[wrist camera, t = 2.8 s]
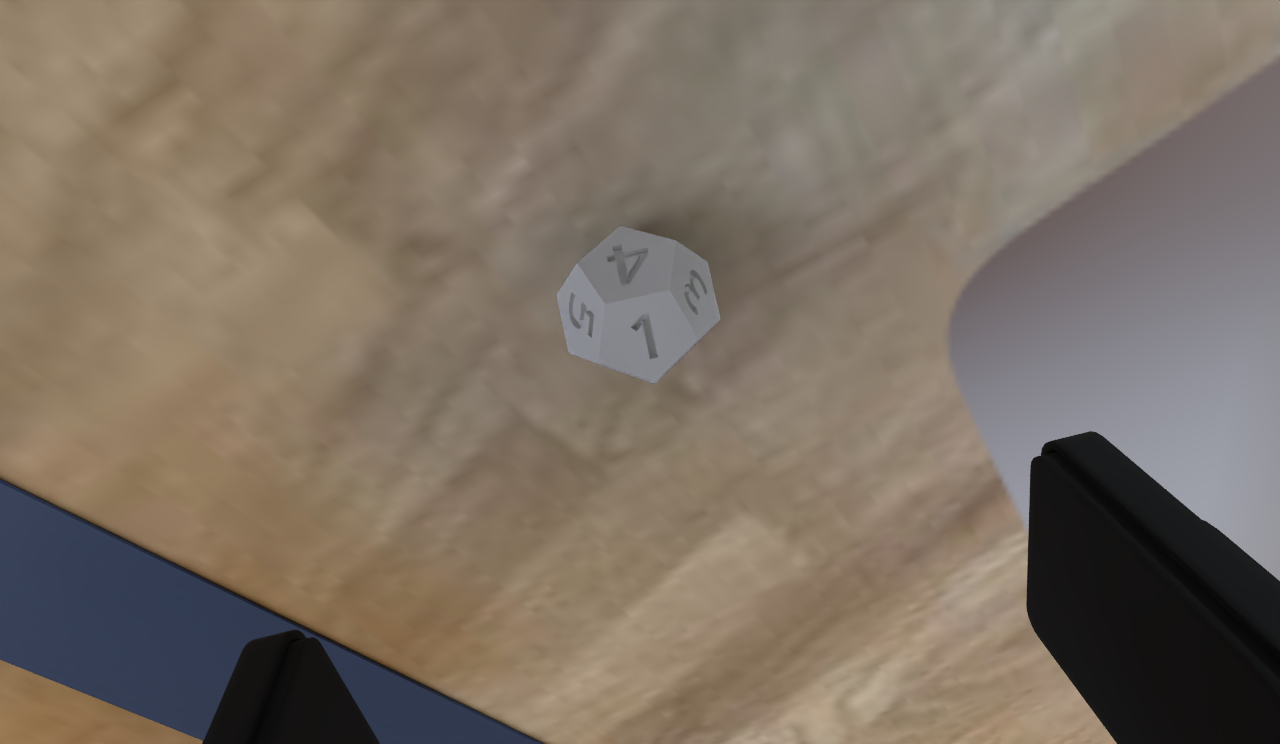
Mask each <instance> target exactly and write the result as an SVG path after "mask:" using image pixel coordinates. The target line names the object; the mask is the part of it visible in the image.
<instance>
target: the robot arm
mask: <svg viewBox="0 0 1280 744" xmlns="http://www.w3.org/2000/svg"><path fill="white" fill-rule="evenodd" d="M1027 612H1028V617H1029V619H1030V622H1031V625H1032V627H1033V629H1034V631H1035V632H1036V634H1037V635H1038V637H1039V638H1040V640H1041V641H1042V642H1043V644H1044V645H1045V646H1046V648H1047V649H1048V651H1049V652H1050V653H1051V655H1052V656H1053V657H1054V659H1055V660H1056V661H1057V663H1058V664H1059V665H1060V667H1061V668H1062V670H1063V671H1064V672H1065V674H1066V675H1067V676H1068V678H1069V679H1070V680H1071V682H1072V683H1073V684H1074V686H1075V687H1076V689H1077V690H1078V691H1079V693H1080V694H1081V695H1082V697H1083V698H1084V699H1085V701H1086V702H1087V703H1088V705H1089V706H1090V707H1091V709H1092V710H1093V712H1094V713H1095V714H1096V716H1097V717H1098V718H1099V720H1100V721H1101V722H1102V724H1103V725H1104V726H1105V728H1106V729H1107V731H1108V732H1109V733H1110V735H1111V736H1112V737H1113V739H1114V740H1115V741H1116V743H1117V744H1280V581H1279V580H1277V579H1276V578H1275V577H1274V576H1273V575H1272V574H1270V573H1269V572H1268V571H1267V570H1266V569H1264V568H1263V567H1262V566H1261V565H1260V564H1258V563H1257V562H1256V561H1255V560H1254V559H1253V558H1251V557H1250V556H1249V555H1248V554H1247V553H1245V552H1244V551H1243V550H1242V549H1241V548H1240V547H1238V546H1237V545H1236V544H1235V543H1233V542H1232V541H1231V540H1230V539H1229V538H1228V537H1226V536H1225V535H1224V534H1223V533H1221V532H1220V531H1219V530H1218V529H1217V528H1215V527H1214V526H1212V525H1210V524H1209V523H1207V522H1206V521H1204V520H1201V519H1200V518H1199V517H1198V516H1196V515H1195V514H1194V513H1193V512H1192V511H1191V510H1189V509H1188V508H1187V507H1186V506H1184V505H1183V504H1182V503H1181V502H1180V501H1179V500H1177V499H1176V498H1175V497H1174V496H1173V495H1172V494H1170V493H1169V492H1168V491H1167V490H1166V489H1164V488H1163V487H1162V486H1161V485H1160V484H1159V483H1157V482H1156V481H1155V480H1154V479H1153V478H1151V477H1150V476H1149V475H1148V474H1147V473H1145V472H1144V471H1143V470H1142V469H1141V468H1140V467H1138V466H1137V465H1136V464H1135V463H1134V462H1133V461H1131V460H1130V459H1129V458H1128V457H1126V456H1125V455H1124V454H1123V453H1122V452H1121V451H1120V450H1118V449H1117V448H1116V447H1115V446H1114V445H1112V444H1111V443H1110V442H1109V441H1108V440H1107V439H1105V438H1104V437H1103V436H1101V435H1100V434H1098V433H1096V432H1091V431H1090V432H1086V433H1082V434H1078V435H1074V436H1070V437H1066V438H1062V439H1058V440H1054V441H1050V442H1048V443H1046V444H1044V446H1043V448H1042V453H1041V456H1038V457H1035V458H1033V460H1032V462H1031V473H1030V508H1029V539H1028V573H1027ZM202 744H380V742H379V741H378V739H377V737H376V736H375V734H374V732H373V731H372V729H371V727H370V726H369V724H368V722H367V720H366V719H365V717H364V715H363V714H362V712H361V710H360V709H359V707H358V705H357V704H356V702H355V700H354V698H353V697H352V695H351V693H350V692H349V690H348V688H347V687H346V685H345V683H344V682H343V680H342V678H341V676H340V675H339V673H338V671H337V670H336V668H335V666H334V665H333V663H332V661H331V660H330V658H329V656H328V654H327V653H326V651H325V649H324V648H323V646H322V644H321V643H320V642H319V640H318V639H316V638H315V637H310V638H306V637H305V635H304V634H303V633H302V632H300V631H299V630H290V631H286V632H282V633H278V634H274V635H270V636H266V637H262V638H258V639H254V640H251V641H250V642H248V643H247V644H246V645H245V647H244V649H243V650H242V652H241V654H240V657H239V659H238V661H237V664H236V666H235V668H234V671H233V673H232V676H231V678H230V680H229V683H228V685H227V687H226V690H225V692H224V694H223V697H222V699H221V701H220V704H219V706H218V708H217V711H216V713H215V715H214V718H213V720H212V722H211V725H210V727H209V729H208V732H207V734H206V736H205V739H204V741H203V743H202Z"/></svg>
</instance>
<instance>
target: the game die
mask: <svg viewBox="0 0 1280 744" xmlns="http://www.w3.org/2000/svg"><path fill="white" fill-rule="evenodd" d="M556 297H557V301H558V306H559V311H560V315H561V320H562V324H563V329H564V333H565V338H566V342H567V347H568V351H569V353H570V354H572V355H575V356H577V357H580V358H583V359H585V360H588V361H591V362H593V363H596V364H598V365H601V366H604V367H607V368H610V369H613V370H615V371H618V372H621V373H624V374H627V375H630V376H633V377H636V378H639V379H642V380H645V381H648V382H651V383H654V384H655V383H656V382H657V381H658V380H660V379H661V378H662V377H663V376H664V375H665V374H666V373H667V372H668V371H669V370H670V369H671V368H672V367H673V366H674V365H675V364H676V363H677V362H678V361H679V360H680V359H681V358H682V357H683V356H684V355H685V354H686V353H687V352H688V351H689V350H690V349H691V348H693V347H694V346H695V345H696V344H697V343H698V342H699V341H700V340H701V339H702V338H703V337H704V336H705V335H706V334H707V333H708V332H709V331H710V330H711V329H712V328H713V327H714V326H715V325H716V324H717V323H718V322H719V321H720V320H721V318H720V314H719V310H718V305H717V301H716V296H715V292H714V288H713V283H712V279H711V275H710V270H709V266H708V262H707V261H706V260H704V259H703V258H701V257H700V256H698V255H697V254H695V253H694V252H693V251H691V250H690V249H688V248H687V247H685V246H684V245H682V244H681V243H679V242H678V241H676V240H672V239H669V238H665V237H661V236H657V235H654V234H650V233H646V232H643V231H639V230H635V229H631V228H628V227H624V226H619V227H618V228H617V229H616V230H615V231H613V232H612V233H611V234H610V235H609V236H608V237H606V238H605V239H604V240H603V241H602V242H601V243H599V244H598V245H597V246H596V247H595V248H594V249H592V250H591V251H590V252H589V253H588V254H587V255H585V256H584V257H583V258H582V259H581V260H580V261H578V262H577V263H576V265H575V267H574V268H573V270H572V271H571V273H570V274H569V276H568V278H567V279H566V281H565V282H564V284H563V286H562V287H561V289H560V290H559V292H558V293H557V295H556Z"/></svg>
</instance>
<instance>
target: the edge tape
mask: <svg viewBox="0 0 1280 744" xmlns="http://www.w3.org/2000/svg"><path fill="white" fill-rule="evenodd" d="M290 630H299V631H300V632H302V633H303V634H304V635H305V637H306V638H310V637H315V638H316V639H318V640H319V642H320V643H321V644H322V646H323V648H324V649H325V651H326V653H327V654H328V656H329V658H330V660H331V661H332V663H333V665H334V666H335V668H336V670H337V671H338V673H339V675H340V676H341V678H342V680H343V682H344V683H345V685H346V687H347V688H348V690H349V692H350V693H351V695H352V697H353V698H354V700H355V702H356V704H357V705H358V707H359V709H360V710H361V712H362V714H363V715H364V717H365V719H366V720H367V722H368V724H369V726H370V727H371V729H372V731H373V732H374V734H375V736H376V737H377V739H378V741H379V742H380V744H542V743H540V742H538V741H536V740H534V739H532V738H530V737H528V736H526V735H524V734H522V733H520V732H518V731H516V730H514V729H512V728H510V727H507V726H505V725H503V724H501V723H499V722H497V721H495V720H493V719H491V718H489V717H487V716H485V715H483V714H481V713H479V712H477V711H475V710H473V709H470V708H468V707H466V706H464V705H462V704H460V703H458V702H456V701H454V700H452V699H450V698H448V697H446V696H444V695H442V694H440V693H438V692H436V691H434V690H431V689H429V688H427V687H425V686H423V685H421V684H419V683H417V682H415V681H413V680H411V679H409V678H407V677H405V676H403V675H401V674H399V673H397V672H394V671H392V670H390V669H388V668H386V667H384V666H382V665H380V664H378V663H376V662H374V661H372V660H370V659H368V658H366V657H364V656H362V655H360V654H357V653H355V652H353V651H351V650H349V649H347V648H345V647H343V646H341V645H339V644H337V643H335V642H333V641H331V640H329V639H327V638H325V637H323V636H321V635H318V634H316V633H314V632H312V631H310V630H308V629H306V628H304V627H302V626H300V625H298V624H296V623H294V622H292V621H290V620H288V619H286V618H284V617H281V616H279V615H277V614H275V613H273V612H271V611H269V610H267V609H265V608H263V607H261V606H259V605H257V604H255V603H253V602H251V601H249V600H247V599H244V598H242V597H240V596H238V595H236V594H234V593H232V592H230V591H228V590H226V589H224V588H222V587H220V586H218V585H216V584H214V583H212V582H210V581H208V580H205V579H203V578H201V577H199V576H197V575H195V574H193V573H191V572H189V571H187V570H185V569H183V568H181V567H179V566H177V565H175V564H173V563H171V562H168V561H166V560H164V559H162V558H160V557H158V556H156V555H154V554H152V553H150V552H148V551H146V550H144V549H142V548H140V547H138V546H136V545H134V544H131V543H129V542H127V541H125V540H123V539H121V538H119V537H117V536H115V535H113V534H111V533H109V532H107V531H105V530H103V529H101V528H99V527H97V526H95V525H92V524H90V523H88V522H86V521H84V520H82V519H80V518H78V517H76V516H74V515H72V514H70V513H68V512H66V511H64V510H62V509H60V508H58V507H55V506H53V505H51V504H49V503H47V502H45V501H43V500H41V499H39V498H37V497H35V496H33V495H31V494H29V493H27V492H25V491H23V490H21V489H18V488H16V487H14V486H12V485H10V484H8V483H6V482H4V481H2V480H0V660H2V661H5V662H7V663H10V664H12V665H15V666H17V667H20V668H22V669H25V670H27V671H30V672H33V673H35V674H38V675H40V676H43V677H45V678H48V679H50V680H53V681H55V682H58V683H60V684H63V685H65V686H68V687H70V688H73V689H75V690H78V691H80V692H83V693H85V694H88V695H90V696H93V697H95V698H98V699H100V700H103V701H105V702H108V703H110V704H113V705H115V706H118V707H120V708H123V709H125V710H128V711H130V712H133V713H135V714H138V715H140V716H143V717H145V718H148V719H150V720H153V721H155V722H158V723H160V724H163V725H165V726H168V727H170V728H173V729H175V730H178V731H180V732H183V733H185V734H188V735H190V736H193V737H195V738H198V739H200V740H203V741H204V739H205V736H206V734H207V732H208V729H209V727H210V725H211V722H212V720H213V718H214V715H215V713H216V711H217V708H218V706H219V704H220V701H221V699H222V697H223V694H224V692H225V690H226V687H227V685H228V683H229V680H230V678H231V676H232V673H233V671H234V668H235V666H236V664H237V661H238V659H239V657H240V654H241V652H242V650H243V649H244V647H245V645H246V644H247V643H248V642H250V641H251V640H254V639H258V638H262V637H266V636H270V635H274V634H278V633H282V632H286V631H290Z"/></svg>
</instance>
